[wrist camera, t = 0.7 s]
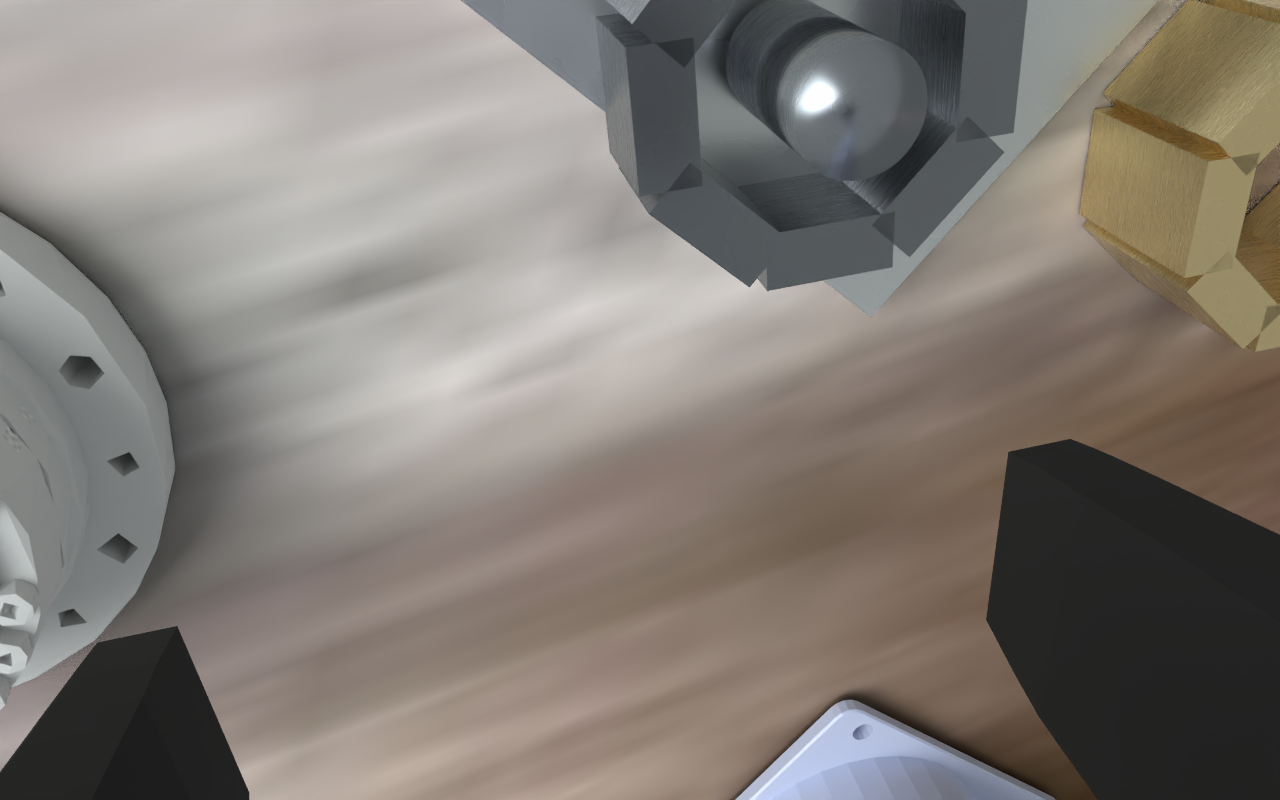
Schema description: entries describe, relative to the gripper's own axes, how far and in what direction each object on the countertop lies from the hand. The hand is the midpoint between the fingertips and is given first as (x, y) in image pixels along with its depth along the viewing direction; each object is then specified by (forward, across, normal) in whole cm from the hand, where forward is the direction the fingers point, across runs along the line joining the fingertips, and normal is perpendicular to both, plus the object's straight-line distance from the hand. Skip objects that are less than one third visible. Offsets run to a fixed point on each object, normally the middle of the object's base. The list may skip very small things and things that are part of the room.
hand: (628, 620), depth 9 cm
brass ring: (+10, -14, +1) cm, 17 cm away
